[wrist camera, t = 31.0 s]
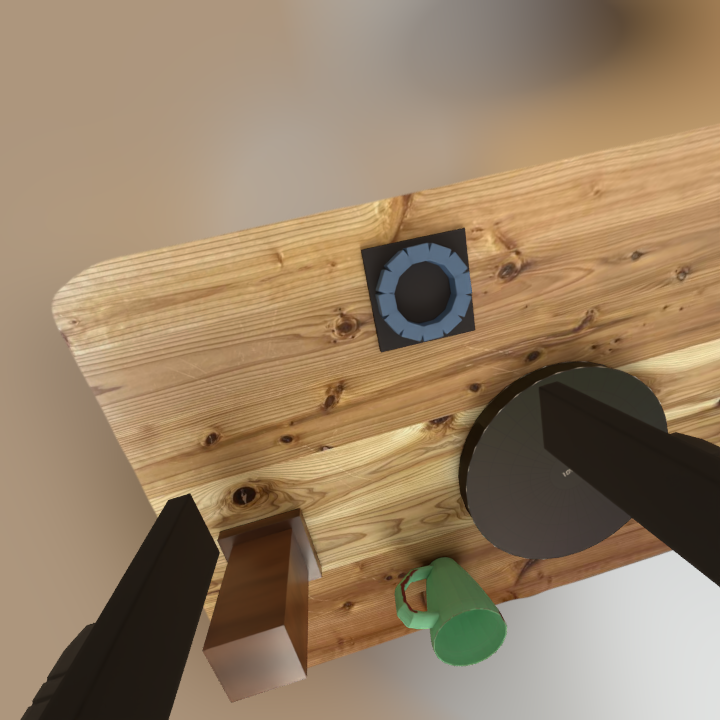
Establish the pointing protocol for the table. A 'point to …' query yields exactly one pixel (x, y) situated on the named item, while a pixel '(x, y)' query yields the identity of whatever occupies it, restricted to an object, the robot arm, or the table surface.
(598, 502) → the disc
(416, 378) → the table surface
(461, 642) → the mug
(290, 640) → the stand
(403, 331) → the ring
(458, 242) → the mat
